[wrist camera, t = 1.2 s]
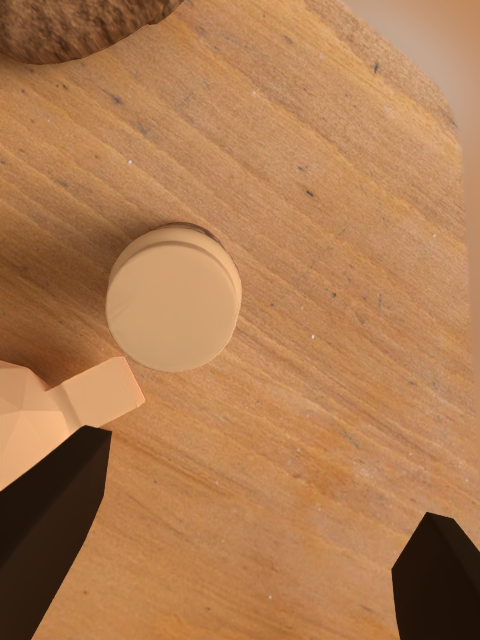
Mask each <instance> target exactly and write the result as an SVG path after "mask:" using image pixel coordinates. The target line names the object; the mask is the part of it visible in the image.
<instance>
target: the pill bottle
mask: <svg viewBox="0 0 480 640" xmlns="http://www.w3.org/2000/svg"><path fill="white" fill-rule="evenodd" d="M241 301H242V285H241V280H240V276H239V273H238V270H237V267H236V265H235V263H234V261H233V259H232V258H231V256H230V255H229V254H228V252H227V251H226V250H225V248H224V247H223V245H222V244H221V243H220V241H219V240H218V239H217V238H216V237H215V236H214V235H213V234H212V233H210V232H209V231H208V230H206V229H204V228H202V227H200V226H198V225H195V224H192V223H186V222H175V223H169V224H165V225H162V226H160V227H157V228H156V229H154V230H152V231H149V232H147V233H145V234H143V235H141V236H139V237H138V238H136V239H135V240H134V241H132V242H131V243H130V244H129V245H128V246H127V247H126V248H125V249H124V250H123V251H122V252H121V254H120V255H119V257H118V259H117V260H116V262H115V264H114V266H113V268H112V271H111V274H110V277H109V283H108V290H107V295H106V301H105V315H106V320H107V324H108V327H109V330H110V333H111V335H112V337H113V338H114V340H115V342H116V343H117V345H118V346H119V347H120V348H121V350H122V351H123V352H124V353H125V354H126V355H127V356H128V357H130V358H131V359H132V360H134V361H135V362H137V363H139V364H140V365H142V366H144V367H147V368H150V369H153V370H156V371H161V372H185V371H189V370H193V369H196V368H198V367H201V366H203V365H205V364H206V363H208V362H210V361H211V360H212V359H214V358H215V357H216V356H217V355H218V354H219V353H220V352H221V351H222V350H223V349H224V348H225V347H226V345H227V344H228V342H229V340H230V338H231V336H232V334H233V332H234V329H235V326H236V321H237V317H238V315H239V311H240V307H241Z"/></svg>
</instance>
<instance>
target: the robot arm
mask: <svg viewBox="0 0 480 640" xmlns="http://www.w3.org/2000/svg"><path fill="white" fill-rule="evenodd" d="M111 435H112V431H108V430H104V429H100V428H96V427H92V426H88V425H84V426H82V427H80V428H79V429H78V430H76V431H75V432H74V433H73V434H72V435H71V436H69V437H68V438H67V439H66V440H65V441H64V442H62V443H61V444H60V445H59V446H58V447H56V448H55V449H54V450H53V451H51V452H50V453H49V454H48V455H47V456H45V457H44V458H43V459H42V460H40V461H39V462H38V463H37V464H35V465H34V466H33V467H32V468H30V469H29V470H28V471H26V472H25V473H24V474H22V475H21V476H20V477H18V478H17V479H16V480H14V481H13V482H12V483H10V484H9V485H8V486H7V487H5V488H4V489H3V490H1V491H0V640H31V639H32V637H33V635H34V633H35V631H36V629H37V628H38V626H39V624H40V622H41V620H42V619H43V617H44V615H45V613H46V611H47V609H48V608H49V606H50V604H51V602H52V600H53V598H54V597H55V595H56V593H57V591H58V589H59V588H60V586H61V584H62V582H63V580H64V578H65V577H66V575H67V573H68V571H69V569H70V567H71V566H72V564H73V562H74V560H75V558H76V556H77V554H78V553H79V551H80V549H81V547H82V545H83V543H84V541H85V539H86V537H87V534H88V532H89V530H90V527H91V525H92V523H93V520H94V518H95V516H96V513H97V511H98V508H99V506H100V504H101V501H102V499H103V496H104V489H105V481H106V474H107V466H108V458H109V450H110V443H111ZM391 570H392V582H393V593H394V603H395V612H396V620H397V625H398V630H399V635H400V640H480V552H479V550H478V549H477V548H476V546H475V545H474V544H473V543H472V541H471V540H470V539H469V537H468V536H467V535H466V534H465V532H464V531H463V530H462V529H461V527H460V526H459V525H458V524H457V523H456V521H455V520H454V519H453V518H449V517H445V516H441V515H437V514H433V513H429V512H426V514H425V515H424V517H423V519H422V520H421V522H420V523H419V525H418V527H417V528H416V530H415V532H414V533H413V535H412V537H411V538H410V540H409V541H408V543H407V545H406V546H405V548H404V550H403V551H402V553H401V554H400V556H399V558H398V559H397V561H396V563H395V564H394V566H393V568H392V569H391Z"/></svg>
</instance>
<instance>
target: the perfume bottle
mask: <svg viewBox="0 0 480 640" xmlns="http://www.w3.org/2000/svg"><path fill="white" fill-rule="evenodd" d="M145 401H146V400H145V398H144V396H143V394H142V392H141V390H140V388H139V386H138V384H137V382H136V380H135V378H134V376H133V373H132V371H131V369H130V367H129V365H128V363H127V361H126V359H125V357H113V358H111V359H109V360H107V361H104V362H102V363H100V364H98V365H96V366H94V367H92V368H90V369H88V370H86V371H84V372H82V373H80V374H78V375H76V376H74V377H72V378H70V379H68V380H66V381H64V382H62V384H60V385H58V386H56V387H54V388H51V387H50V386H49V385H48V384H47V383H45V382H44V381H43V380H42V379H41V378H39V377H38V376H37V375H36V374H35V373H34V372H32V371H31V370H30V369H29V368H27V367H23V366H19V365H16V364H12V363H8V362H5V361H1V360H0V491H1V490H3V489H4V488H5V487H7V486H8V485H9V484H10V483H12V482H13V481H14V480H16V479H17V478H18V477H20V476H21V475H22V474H24V473H25V472H26V471H28V470H29V469H30V468H32V467H33V466H34V465H35V464H37V463H38V462H39V461H40V460H42V459H43V458H44V457H45V456H47V455H48V454H49V453H50V452H51V451H53V450H54V449H55V448H56V447H58V446H59V445H60V444H61V443H62V442H64V441H65V440H66V439H67V438H68V437H69V436H71V435H72V434H73V433H74V432H75V431H76V430H78V429H79V428H80V427H82V426H84V425H88V426H92V427H96V428H98V427H100V426H102V425H104V424H106V423H108V422H110V421H112V420H114V419H116V418H118V417H120V416H122V415H123V414H125V413H127V412H129V411H131V410H133V409H135V408H137V407H139V406H140V405H141V404H143V403H144V402H145Z"/></svg>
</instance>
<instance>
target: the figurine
mask: <svg viewBox="0 0 480 640" xmlns="http://www.w3.org/2000/svg"><path fill="white" fill-rule="evenodd" d="M183 1H184V0H0V51H1V52H3V53H4V54H6V55H7V56H9V57H11V58H13V59H15V60H17V61H19V62H23V63H28V64H36V65H43V64H55V63H63V62H67V61H70V60H76V59H81V58H84V57H86V56H88V55H91V54H93V53H96V52H98V51H100V50H103V49H105V48H107V47H109V46H111V45H113V44H115V43H117V42H118V41H120V40H122V39H123V38H125V37H127V36H129V35H130V34H132V33H133V32H134V31H136V30H137V29H139V28H141V27H142V26H144V25H145V24H149V25H152V24H157V23H158V22H160V21H161V20H163V19H164V18H166V17H167V16H168V15H170V14H171V13H172V12H173V11H174V10H175V9H176V8H177V7H178V6H179V5H180V4H181V3H182V2H183Z"/></svg>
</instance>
